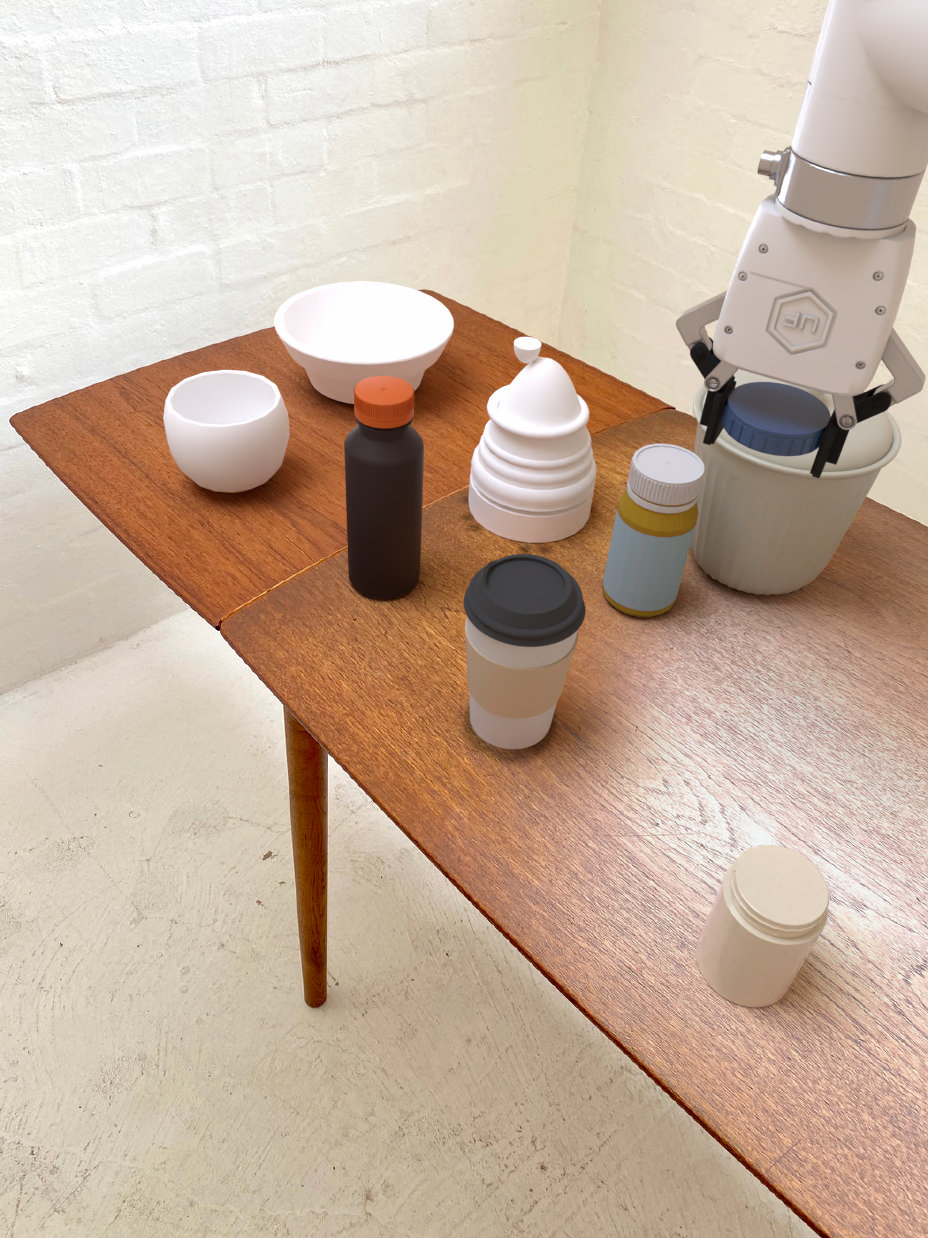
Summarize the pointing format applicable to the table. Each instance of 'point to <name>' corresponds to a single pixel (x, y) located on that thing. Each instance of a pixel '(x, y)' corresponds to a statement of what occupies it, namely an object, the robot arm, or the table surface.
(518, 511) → the honey pot
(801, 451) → the lid
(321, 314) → the bowl
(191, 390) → the cup
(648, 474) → the bottle
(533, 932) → the table surface
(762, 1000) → the jar
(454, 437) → the table surface
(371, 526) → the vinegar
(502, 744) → the coffee cup
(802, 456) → the canister
